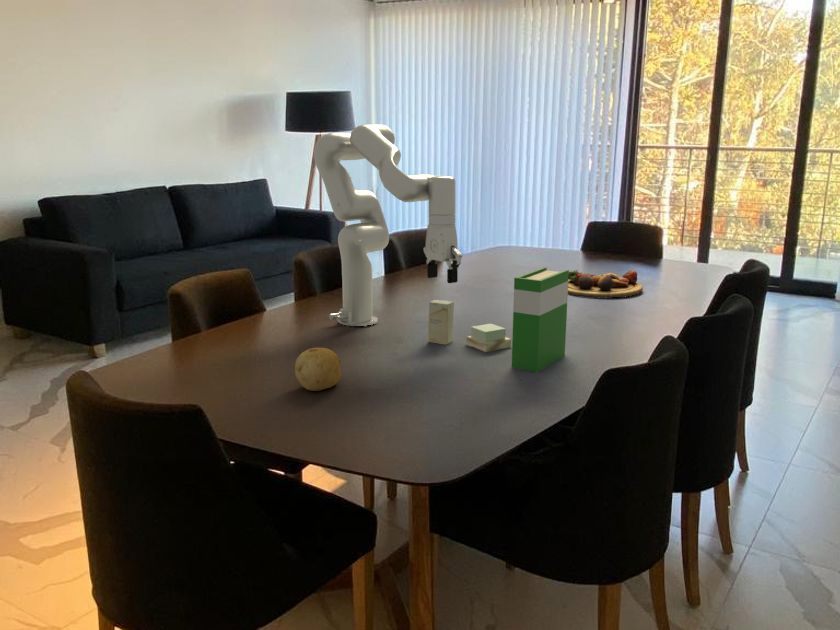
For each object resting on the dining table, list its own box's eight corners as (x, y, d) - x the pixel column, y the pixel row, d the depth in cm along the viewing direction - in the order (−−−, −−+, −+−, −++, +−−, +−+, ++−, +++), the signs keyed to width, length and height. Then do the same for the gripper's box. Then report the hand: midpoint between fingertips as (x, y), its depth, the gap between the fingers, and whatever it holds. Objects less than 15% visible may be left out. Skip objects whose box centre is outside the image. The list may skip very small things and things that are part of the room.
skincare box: (427, 342, 227) (428, 301, 224) (434, 338, 231) (434, 298, 228) (447, 345, 224) (447, 304, 221) (453, 341, 228) (454, 301, 225)
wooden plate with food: (635, 283, 312) (635, 262, 310) (649, 299, 281) (651, 277, 279) (554, 282, 315) (554, 262, 313) (560, 299, 284) (560, 277, 282)
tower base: (486, 354, 218) (486, 343, 217) (466, 346, 225) (466, 336, 224) (510, 349, 223) (511, 338, 222) (490, 341, 230) (491, 332, 229)
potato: (351, 384, 191) (350, 345, 189) (317, 399, 181) (316, 358, 178) (319, 377, 196) (318, 339, 194) (285, 391, 186) (283, 351, 184)
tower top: (485, 342, 218) (485, 332, 218) (471, 336, 224) (471, 326, 223) (505, 338, 222) (505, 328, 221) (490, 333, 228) (490, 323, 227)
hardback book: (540, 351, 219) (543, 267, 213) (564, 355, 215) (568, 270, 209) (511, 367, 204) (514, 277, 199) (537, 372, 200) (540, 280, 195)
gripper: (413, 218, 224) (414, 277, 228) (449, 224, 210) (449, 286, 214) (435, 216, 228) (435, 274, 232) (471, 222, 214) (471, 283, 218)
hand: (442, 280), depth 223 cm, fingers open, 9 cm apart
